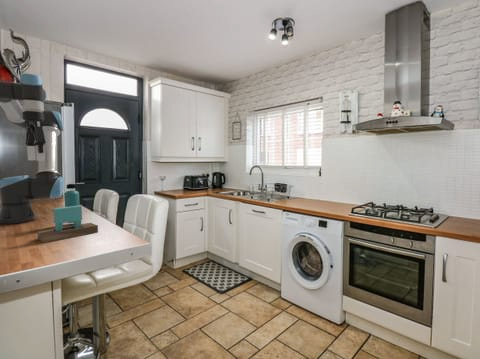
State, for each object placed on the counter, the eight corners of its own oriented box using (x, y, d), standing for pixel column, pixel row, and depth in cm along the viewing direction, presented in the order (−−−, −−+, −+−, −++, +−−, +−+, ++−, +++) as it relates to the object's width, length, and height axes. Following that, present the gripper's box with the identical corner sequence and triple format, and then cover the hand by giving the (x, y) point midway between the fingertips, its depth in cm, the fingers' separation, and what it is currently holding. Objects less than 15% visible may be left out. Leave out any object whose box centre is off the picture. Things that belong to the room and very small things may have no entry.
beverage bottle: (68, 226, 128) (66, 184, 127) (63, 224, 132) (61, 184, 131) (83, 224, 134) (81, 183, 132) (77, 222, 138) (75, 183, 136)
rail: (37, 238, 109) (37, 231, 109) (90, 229, 124) (90, 222, 124) (43, 242, 104) (43, 235, 103) (98, 232, 119) (97, 225, 119)
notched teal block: (54, 237, 111) (53, 208, 110) (79, 232, 118) (78, 205, 118) (57, 238, 109) (55, 209, 108) (82, 233, 117) (81, 206, 116)
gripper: (15, 113, 123) (18, 160, 124) (30, 107, 107) (33, 161, 108) (35, 115, 128) (38, 160, 130) (52, 109, 112) (55, 160, 114)
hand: (36, 160), depth 119 cm, fingers open, 13 cm apart
